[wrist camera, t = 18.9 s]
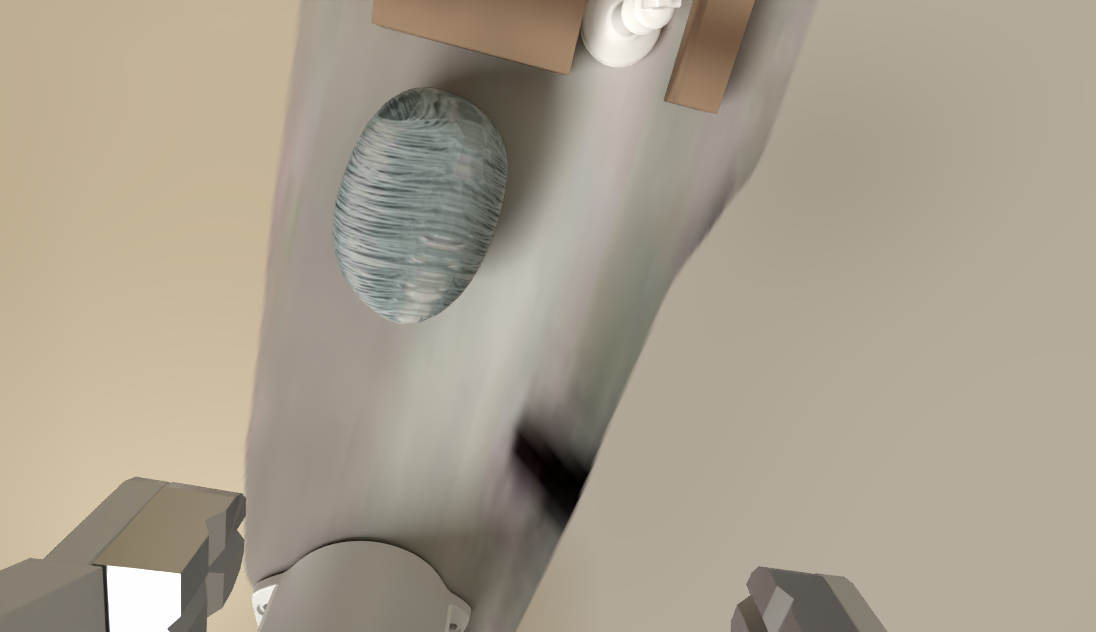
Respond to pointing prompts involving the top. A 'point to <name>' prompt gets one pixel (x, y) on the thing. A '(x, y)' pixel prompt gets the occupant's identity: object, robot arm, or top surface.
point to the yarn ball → (419, 203)
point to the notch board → (574, 37)
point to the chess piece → (624, 28)
